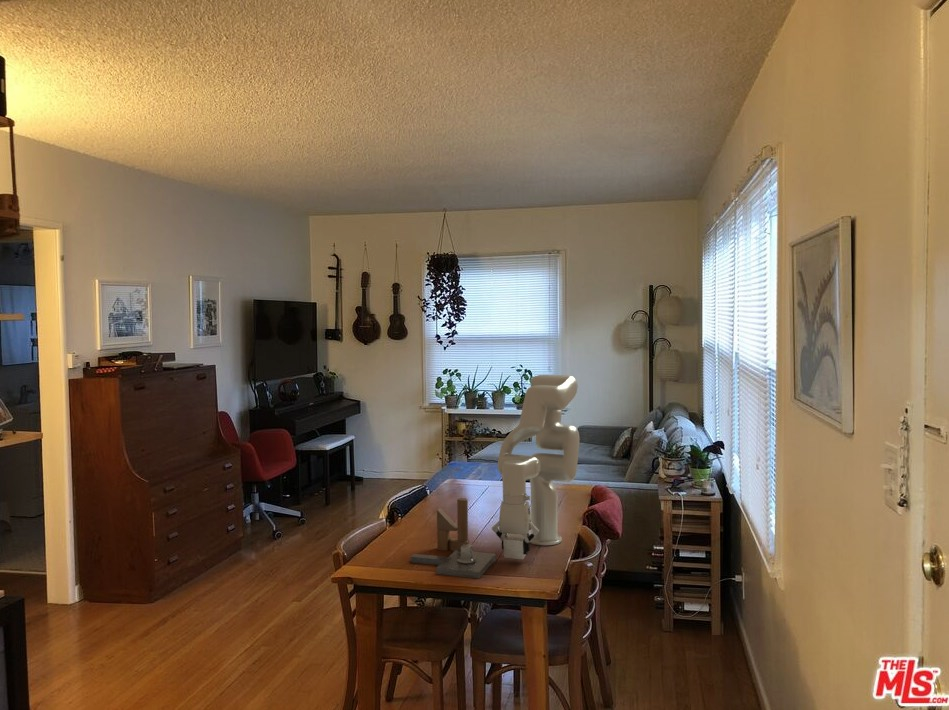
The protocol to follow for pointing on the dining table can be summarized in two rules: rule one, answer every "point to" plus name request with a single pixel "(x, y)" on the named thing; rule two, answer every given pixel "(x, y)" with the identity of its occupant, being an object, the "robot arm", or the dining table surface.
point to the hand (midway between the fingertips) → (515, 551)
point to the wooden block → (453, 527)
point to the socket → (514, 546)
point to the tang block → (459, 562)
